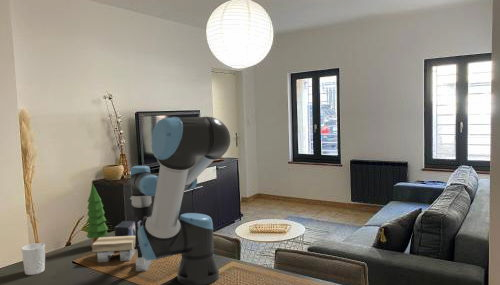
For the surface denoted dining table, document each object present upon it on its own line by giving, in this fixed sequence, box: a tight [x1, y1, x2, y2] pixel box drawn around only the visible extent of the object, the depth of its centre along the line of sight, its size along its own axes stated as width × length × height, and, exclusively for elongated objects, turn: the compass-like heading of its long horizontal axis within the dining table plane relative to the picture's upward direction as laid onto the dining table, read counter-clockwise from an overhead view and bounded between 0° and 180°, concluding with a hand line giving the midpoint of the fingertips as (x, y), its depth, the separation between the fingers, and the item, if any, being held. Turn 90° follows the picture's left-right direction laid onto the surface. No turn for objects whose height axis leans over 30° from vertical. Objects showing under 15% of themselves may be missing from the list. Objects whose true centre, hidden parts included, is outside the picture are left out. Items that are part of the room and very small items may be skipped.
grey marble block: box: [135, 258, 153, 272], centre depth 150 cm, size 10×4×4 cm, turn 3°
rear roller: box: [119, 246, 136, 262], centre depth 161 cm, size 10×4×4 cm, turn 5°
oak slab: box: [91, 235, 135, 253], centre depth 160 cm, size 10×16×3 cm, turn 95°
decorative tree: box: [86, 182, 109, 249], centre depth 175 cm, size 10×9×30 cm
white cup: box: [21, 242, 46, 276], centre depth 147 cm, size 8×8×10 cm
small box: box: [114, 220, 136, 237], centre depth 174 cm, size 11×6×10 cm, turn 179°
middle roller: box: [96, 251, 115, 263], centre depth 160 cm, size 10×4×4 cm, turn 5°
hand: (143, 258), depth 150 cm, fingers open, 12 cm apart
